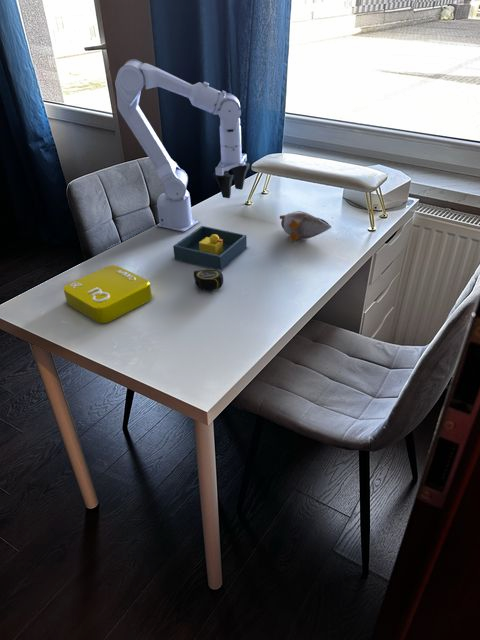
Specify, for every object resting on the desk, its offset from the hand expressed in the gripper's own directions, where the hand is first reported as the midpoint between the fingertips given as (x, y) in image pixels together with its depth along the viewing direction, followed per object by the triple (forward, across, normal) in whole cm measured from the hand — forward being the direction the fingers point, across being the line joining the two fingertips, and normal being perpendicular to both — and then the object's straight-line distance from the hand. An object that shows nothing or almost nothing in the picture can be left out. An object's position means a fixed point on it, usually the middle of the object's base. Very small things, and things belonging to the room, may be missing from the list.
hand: (232, 193), depth 146 cm
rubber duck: (+9, -20, -4) cm, 22 cm away
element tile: (+10, -51, +5) cm, 52 cm away
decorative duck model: (+10, +2, -22) cm, 24 cm away
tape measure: (+10, -35, -12) cm, 38 cm away
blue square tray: (+9, -20, -4) cm, 22 cm away
